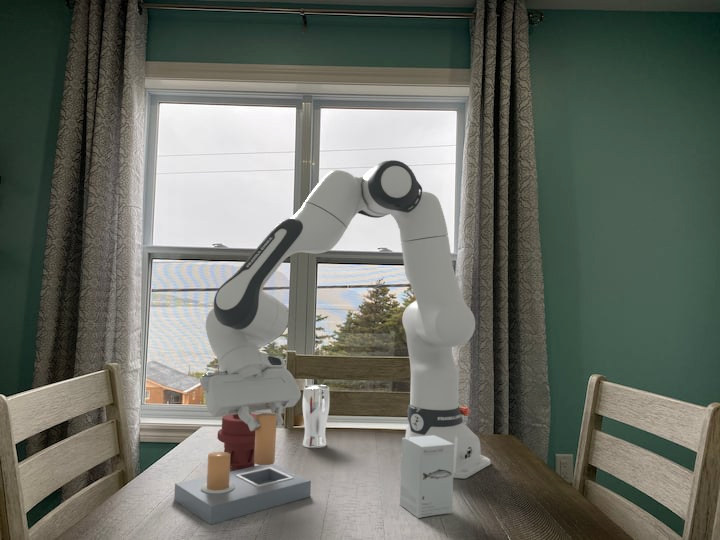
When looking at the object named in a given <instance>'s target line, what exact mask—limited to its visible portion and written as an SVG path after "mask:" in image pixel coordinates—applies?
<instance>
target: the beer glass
mask: <svg viewBox="0 0 720 540" xmlns="http://www.w3.org/2000/svg"><path fill="white" fill-rule="evenodd" d="M302 394H303V395H302V415H303V416H302V417H303V423H304V437H303V441H302V446H303V447H304V448H307V449H323V448H325V447H326V446H327V439H326V428H327V427H326V426H327V422H328V416H329V412H330V386H328V385H324V384H308V385H307V384H306V385H304V386H303V393H302Z"/></svg>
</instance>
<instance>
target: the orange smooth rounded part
mask: <svg viewBox="0 0 720 540" xmlns="http://www.w3.org/2000/svg"><path fill="white" fill-rule="evenodd" d="M256 418H258V420H259V423H260V428H258V430H255V450H254V463H255V465H256V466H258V465H271V464H275V461H276V442H277V441H276V437H277V427H276V423H277V415H276V414H275V413H272V412H271V413H268V412H267V413H266V412H265V413H257V415H256Z"/></svg>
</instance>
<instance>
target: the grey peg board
mask: <svg viewBox="0 0 720 540" xmlns="http://www.w3.org/2000/svg"><path fill="white" fill-rule="evenodd" d="M230 456H231V454H230V453H228V452H224V451H215V452H211V453H208V455H207V471H206V472H207V473H206V474H207V475H206V476H202V477H199V478H194V479H188V480H185V481H180V482H175V483H174V494H173V495H174V496H173V497H174V499H173V500H174V501H175V502H177V503H178V504H180V505H181V506H182V507H184V508H185V509H187V510H188V511H190V512H191V513H193V514H194V515H196V516H197V517H199V519H201V520H203V521H204V522H206V523H207V524H209V525H213V524H218V523H220V522H225V521H228V520H231V519H236V518H239V517H242V516H245V515H248V514H253V513H256V512H260V511H263V510H268V509H270V508H273V507H278V506H281V505H284V504H288V503H291V502H295V501H299V500H303V499H307V498H309V497H311V491H312V489H311V487H312V486H311V484H312V481H311V479H308V478H306V477H304V476H301V475H299V474H296V473H294V472H292V471H290V470H287V469H285V468H282V467H280V466H278V465H276V464H275V463H273V464H271V465H255V466H253V467H249V468H244V469H239V470H235V471H231V466H230Z"/></svg>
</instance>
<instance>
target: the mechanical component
mask: <svg viewBox="0 0 720 540" xmlns="http://www.w3.org/2000/svg"><path fill="white" fill-rule="evenodd" d="M248 413H249V414H250V415H251V416H252V417H253V418H256V415H257V414H258V413H257V414H256V413H253V412H248ZM221 418H222V419H221V429H219V430H218V431H217V440H218V441H220V442H221V443H222V444H223V448H224V450H223V452H228V453H230V454H231V456H230V471H235V470H239V469H244V468H249V467H253V466H256V464H255V463H254V450H255V431H250V429H249V427H248V424H246V423H245V422H244V421H242V420H241V419H240V418H239V416H238V414H233V415H226V416H221Z"/></svg>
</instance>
